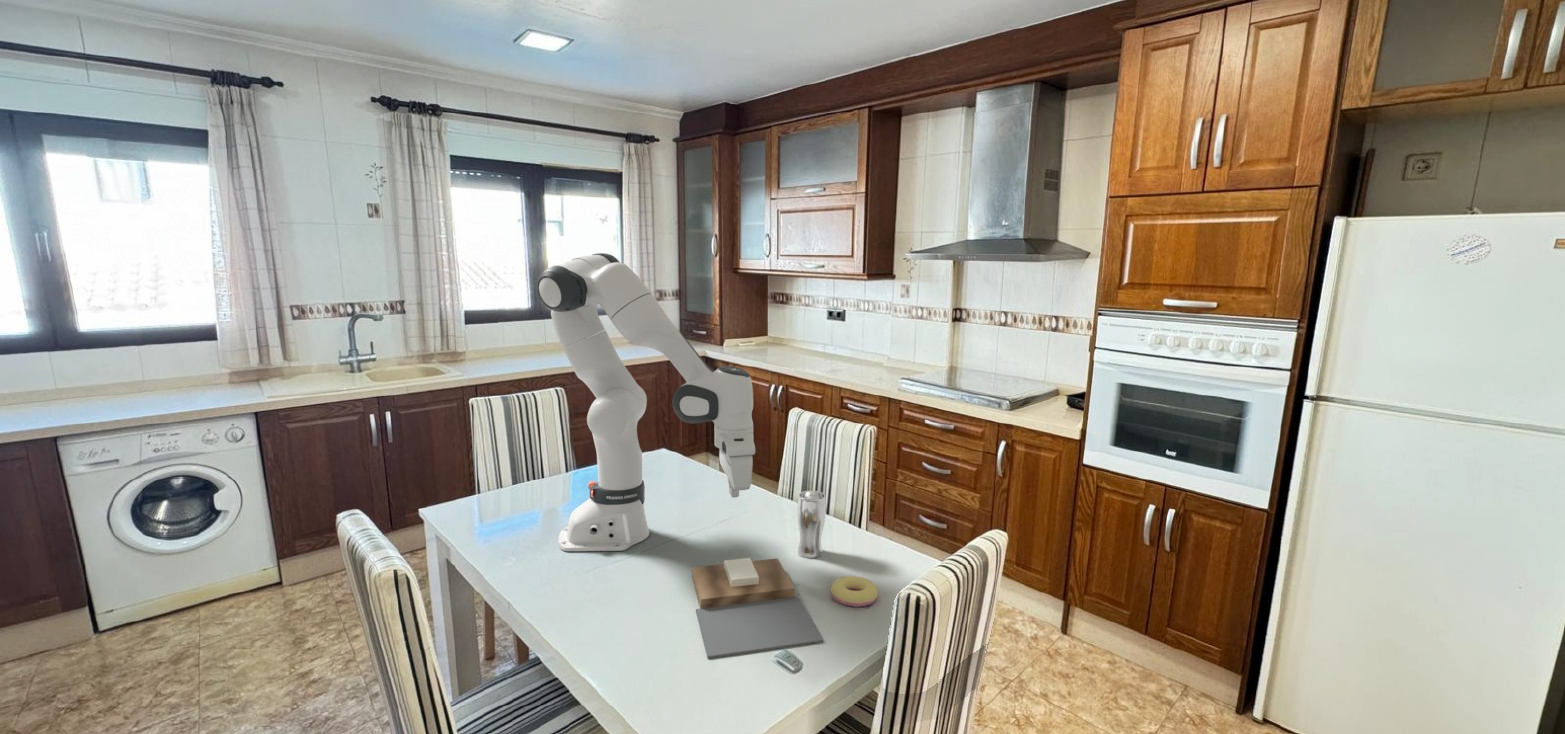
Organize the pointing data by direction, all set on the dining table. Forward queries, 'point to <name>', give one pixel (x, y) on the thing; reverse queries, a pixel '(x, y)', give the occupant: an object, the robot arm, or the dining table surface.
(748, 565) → the tile
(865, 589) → the donut
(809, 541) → the beer glass
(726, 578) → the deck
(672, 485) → the dining table surface
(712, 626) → the mat
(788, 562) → the dining table surface
